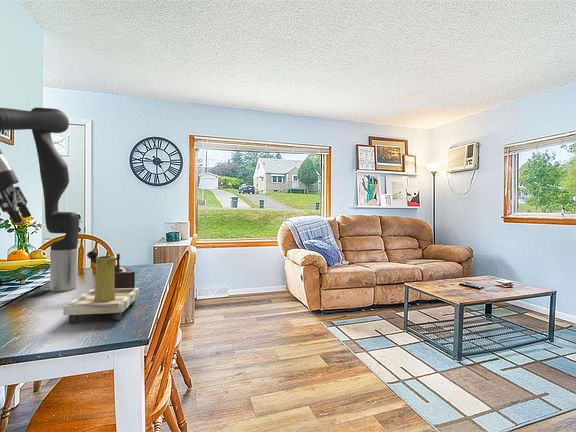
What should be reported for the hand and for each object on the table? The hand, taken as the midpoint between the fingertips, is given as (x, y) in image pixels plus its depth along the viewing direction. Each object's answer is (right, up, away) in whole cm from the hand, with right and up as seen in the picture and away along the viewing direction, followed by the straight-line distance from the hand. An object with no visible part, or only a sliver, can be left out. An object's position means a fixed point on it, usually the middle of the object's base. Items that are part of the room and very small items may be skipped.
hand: (23, 219), depth 99 cm
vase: (+25, -27, +2) cm, 37 cm away
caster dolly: (+25, -31, +2) cm, 40 cm away
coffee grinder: (+14, -31, +25) cm, 42 cm away
